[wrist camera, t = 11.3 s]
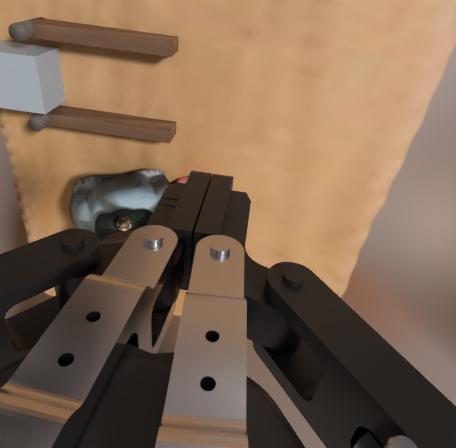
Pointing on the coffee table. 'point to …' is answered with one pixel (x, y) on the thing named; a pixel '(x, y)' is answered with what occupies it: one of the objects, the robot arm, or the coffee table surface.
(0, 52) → the block
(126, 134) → the chute
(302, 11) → the coffee table surface
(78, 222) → the lucky cat figurine
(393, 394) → the robot arm
